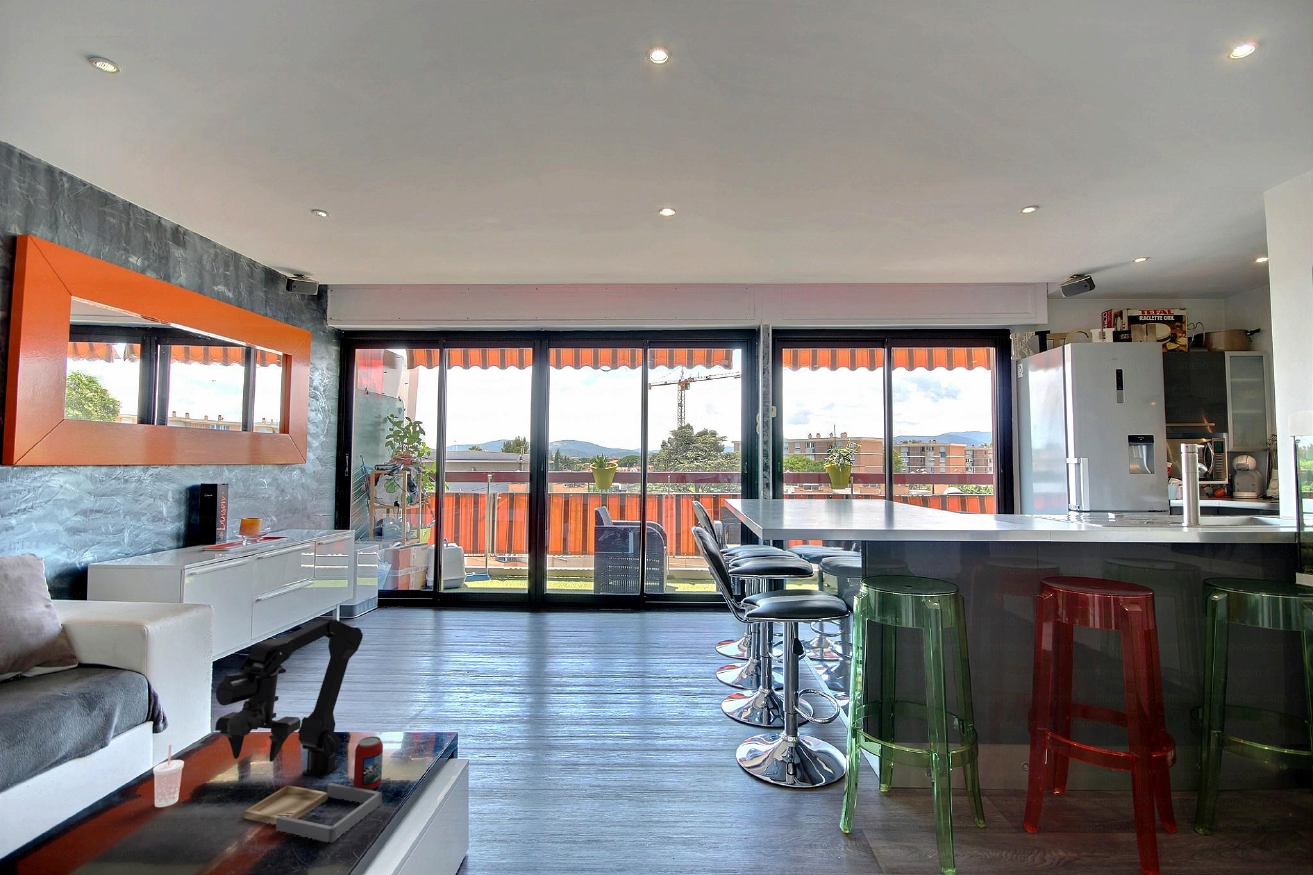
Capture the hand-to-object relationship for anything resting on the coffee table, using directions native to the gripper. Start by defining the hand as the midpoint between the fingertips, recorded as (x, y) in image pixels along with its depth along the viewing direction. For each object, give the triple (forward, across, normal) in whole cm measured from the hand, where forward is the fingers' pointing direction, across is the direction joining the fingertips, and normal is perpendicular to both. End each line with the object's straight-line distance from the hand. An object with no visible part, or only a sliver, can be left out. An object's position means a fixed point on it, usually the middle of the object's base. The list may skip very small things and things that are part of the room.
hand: (254, 759), depth 153 cm
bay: (+12, +21, 0) cm, 24 cm away
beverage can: (+11, +23, +14) cm, 29 cm away
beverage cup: (+13, -22, +2) cm, 26 cm away
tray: (+12, +9, +2) cm, 15 cm away
